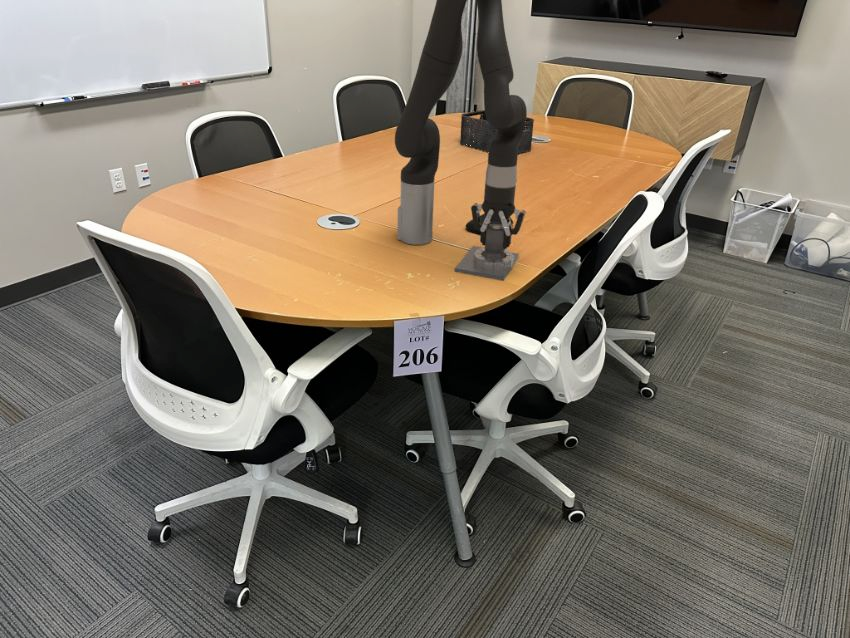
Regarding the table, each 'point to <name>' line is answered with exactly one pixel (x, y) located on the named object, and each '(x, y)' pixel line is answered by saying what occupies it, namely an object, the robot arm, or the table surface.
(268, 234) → the table surface
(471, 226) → the carrying case or bag
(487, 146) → the storage bin
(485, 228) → the robot arm
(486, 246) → the dark gray cylinder
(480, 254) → the lens mount
